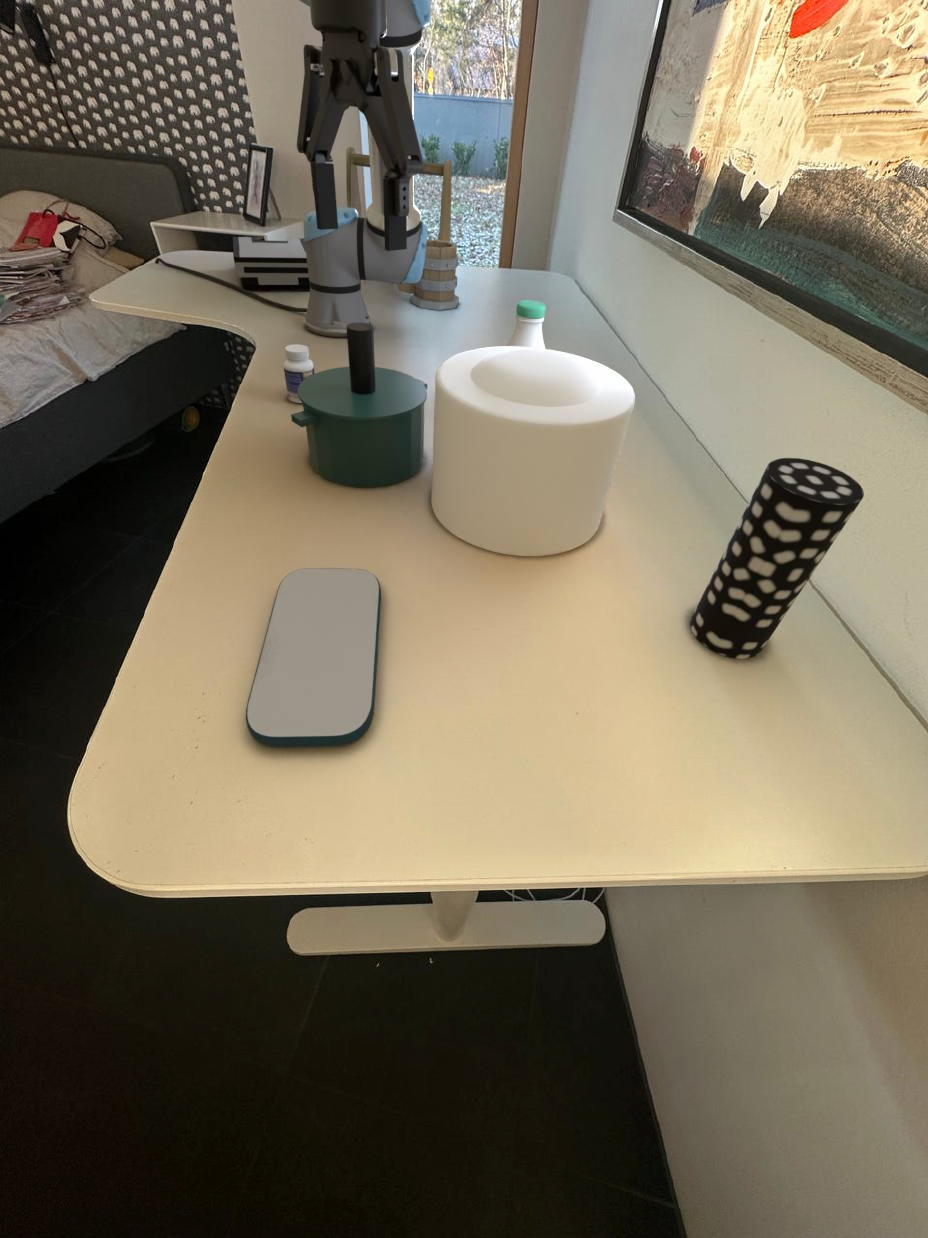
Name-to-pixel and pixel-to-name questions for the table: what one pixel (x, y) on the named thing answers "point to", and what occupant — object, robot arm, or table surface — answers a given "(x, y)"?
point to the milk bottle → (528, 325)
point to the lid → (362, 385)
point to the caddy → (429, 168)
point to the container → (526, 447)
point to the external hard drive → (318, 660)
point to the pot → (364, 447)
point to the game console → (271, 263)
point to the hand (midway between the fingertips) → (360, 238)
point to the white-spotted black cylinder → (773, 554)
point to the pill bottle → (296, 369)
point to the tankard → (436, 278)
